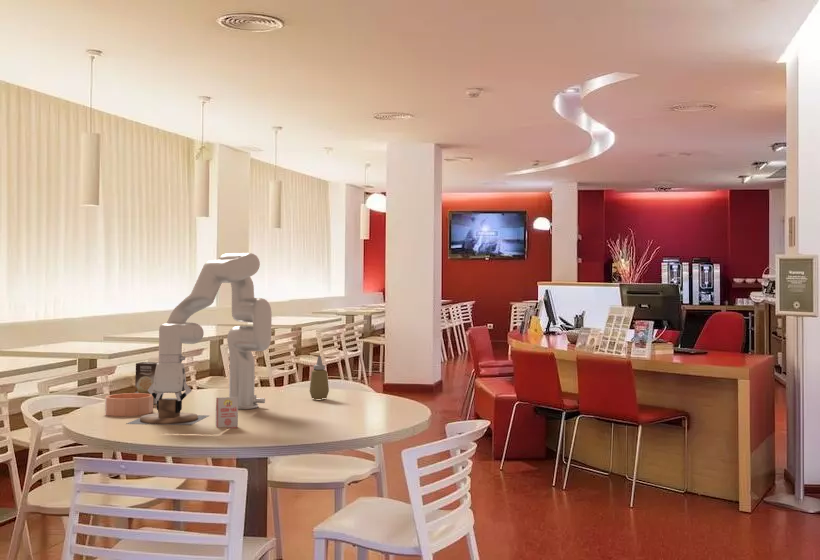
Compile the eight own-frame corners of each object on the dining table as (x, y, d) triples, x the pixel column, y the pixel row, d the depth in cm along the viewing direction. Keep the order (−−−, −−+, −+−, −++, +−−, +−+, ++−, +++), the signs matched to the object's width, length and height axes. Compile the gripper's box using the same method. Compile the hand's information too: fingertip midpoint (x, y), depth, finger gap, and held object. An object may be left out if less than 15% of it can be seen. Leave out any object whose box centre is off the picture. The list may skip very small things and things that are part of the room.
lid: (205, 415, 274) (205, 395, 274) (186, 424, 255) (187, 403, 255) (152, 414, 275) (153, 395, 275) (130, 423, 256) (131, 402, 256)
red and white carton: (215, 427, 255) (215, 396, 255) (236, 426, 257) (236, 396, 257) (216, 429, 251) (217, 398, 251) (237, 428, 253) (238, 397, 253)
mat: (209, 417, 274) (209, 415, 275) (190, 426, 255) (190, 425, 255) (149, 416, 276) (149, 414, 276) (125, 425, 256) (125, 423, 256)
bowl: (159, 410, 288) (159, 393, 288) (142, 417, 272) (142, 399, 272) (117, 410, 288) (117, 392, 289) (97, 417, 273) (98, 398, 273)
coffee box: (133, 403, 306) (134, 363, 306) (141, 401, 312) (141, 361, 312) (156, 404, 305) (156, 363, 305) (162, 402, 311) (163, 362, 311)
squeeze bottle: (307, 398, 324) (307, 356, 324) (325, 398, 327) (326, 355, 327) (312, 401, 317) (312, 357, 317) (331, 400, 320) (331, 357, 320)
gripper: (198, 358, 269) (197, 410, 268) (149, 358, 270) (149, 410, 269) (190, 360, 261) (190, 414, 261) (141, 360, 262) (140, 413, 262)
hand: (169, 411), depth 265 cm, fingers closed on lid, 5 cm apart
